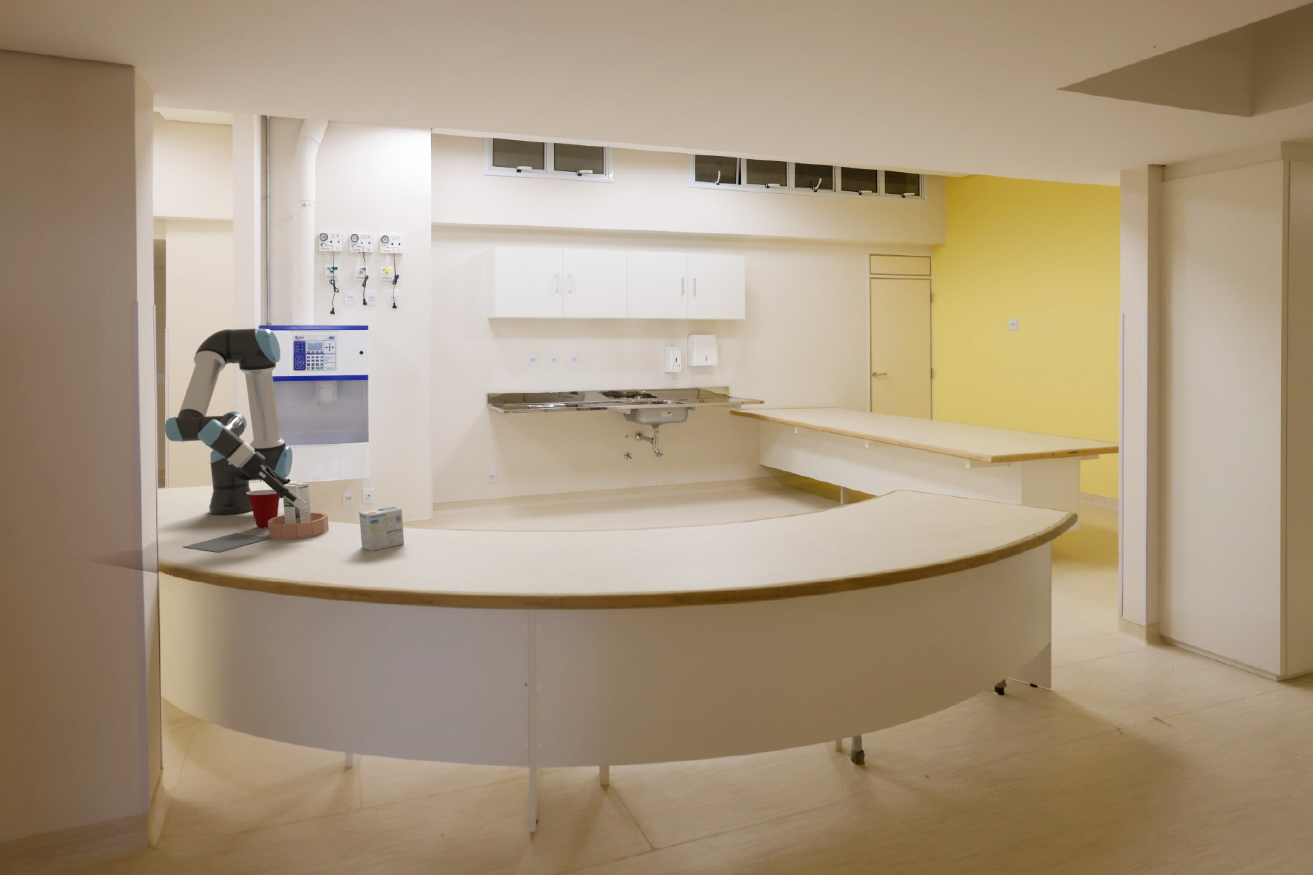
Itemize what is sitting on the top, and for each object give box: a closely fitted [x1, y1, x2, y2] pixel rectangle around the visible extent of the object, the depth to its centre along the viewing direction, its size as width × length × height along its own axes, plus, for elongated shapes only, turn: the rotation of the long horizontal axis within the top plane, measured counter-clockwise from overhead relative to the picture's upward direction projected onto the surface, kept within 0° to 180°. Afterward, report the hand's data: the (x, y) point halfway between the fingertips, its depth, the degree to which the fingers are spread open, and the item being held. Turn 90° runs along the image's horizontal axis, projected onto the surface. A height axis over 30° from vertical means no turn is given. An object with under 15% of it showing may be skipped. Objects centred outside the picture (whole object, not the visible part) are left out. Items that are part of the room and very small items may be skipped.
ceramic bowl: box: [267, 511, 330, 540], centre depth 273 cm, size 17×17×4 cm
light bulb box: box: [358, 506, 405, 552], centre depth 254 cm, size 11×7×11 cm, turn 134°
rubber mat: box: [183, 532, 272, 553], centre depth 262 cm, size 18×16×1 cm
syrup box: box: [282, 482, 311, 524], centre depth 273 cm, size 6×6×14 cm
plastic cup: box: [246, 489, 281, 529], centre depth 282 cm, size 11×11×12 cm
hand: (303, 502), depth 273 cm, fingers open, 13 cm apart
